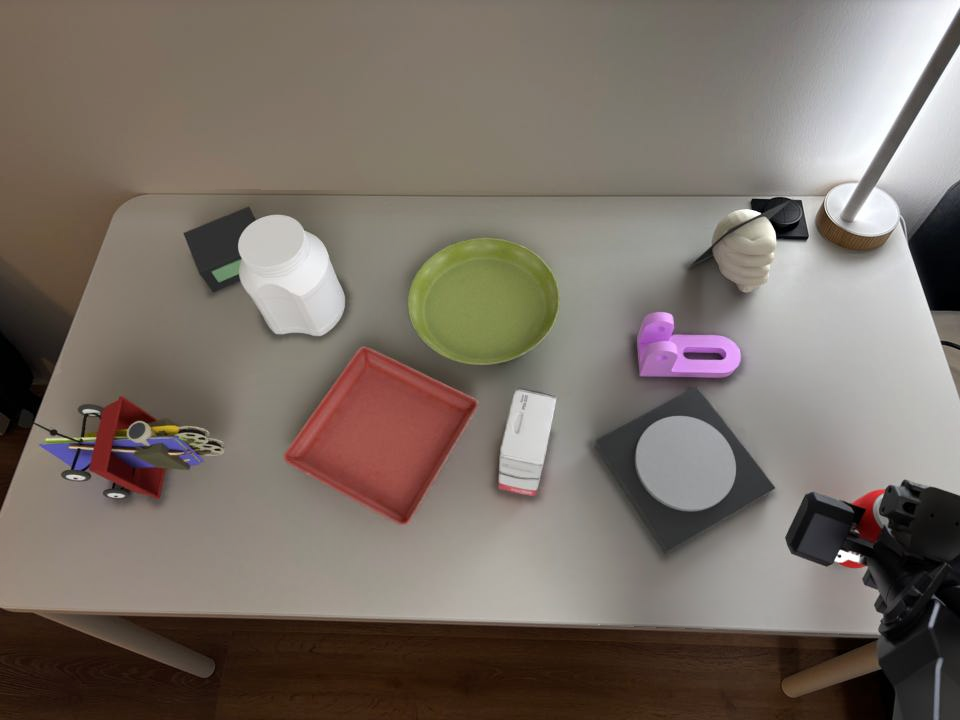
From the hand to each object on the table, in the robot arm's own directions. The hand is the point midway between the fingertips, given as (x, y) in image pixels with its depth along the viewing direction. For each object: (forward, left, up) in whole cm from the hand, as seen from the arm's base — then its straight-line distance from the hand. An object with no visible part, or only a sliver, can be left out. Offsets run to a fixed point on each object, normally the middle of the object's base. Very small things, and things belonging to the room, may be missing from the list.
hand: (874, 516), depth 69 cm
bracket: (+27, +2, -7) cm, 28 cm away
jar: (+60, +44, -7) cm, 75 cm away
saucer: (+47, +22, -7) cm, 53 cm away
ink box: (+25, +28, -7) cm, 38 cm away
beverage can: (-1, +1, -7) cm, 7 cm away
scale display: (+73, +50, -7) cm, 89 cm away
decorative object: (+35, -12, -7) cm, 38 cm away
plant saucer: (+36, +42, -7) cm, 56 cm away
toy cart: (+47, +69, -7) cm, 84 cm away
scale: (+15, +12, -7) cm, 21 cm away
